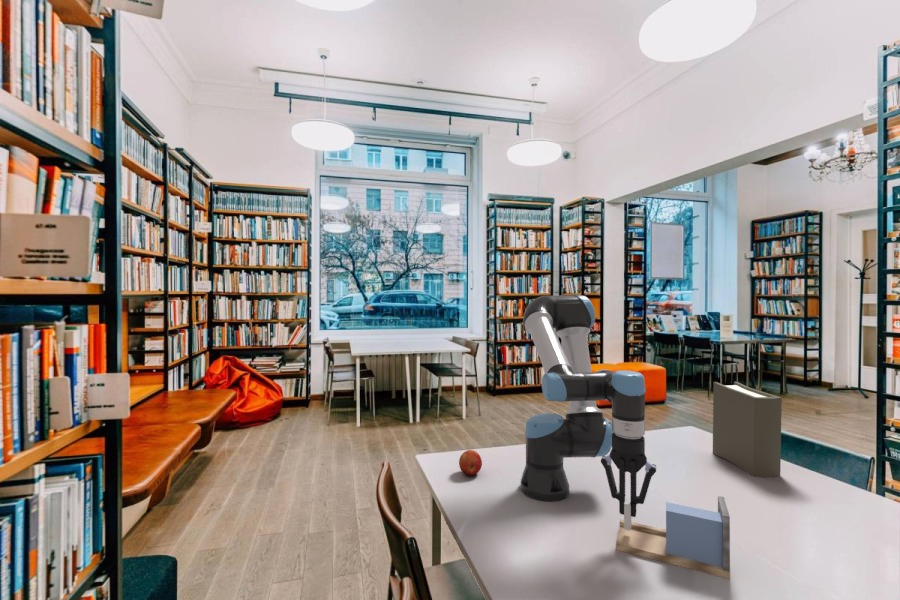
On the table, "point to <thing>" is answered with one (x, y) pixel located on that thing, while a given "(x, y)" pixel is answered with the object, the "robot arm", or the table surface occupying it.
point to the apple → (470, 462)
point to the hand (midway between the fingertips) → (627, 527)
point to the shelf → (654, 544)
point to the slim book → (694, 534)
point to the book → (747, 428)
